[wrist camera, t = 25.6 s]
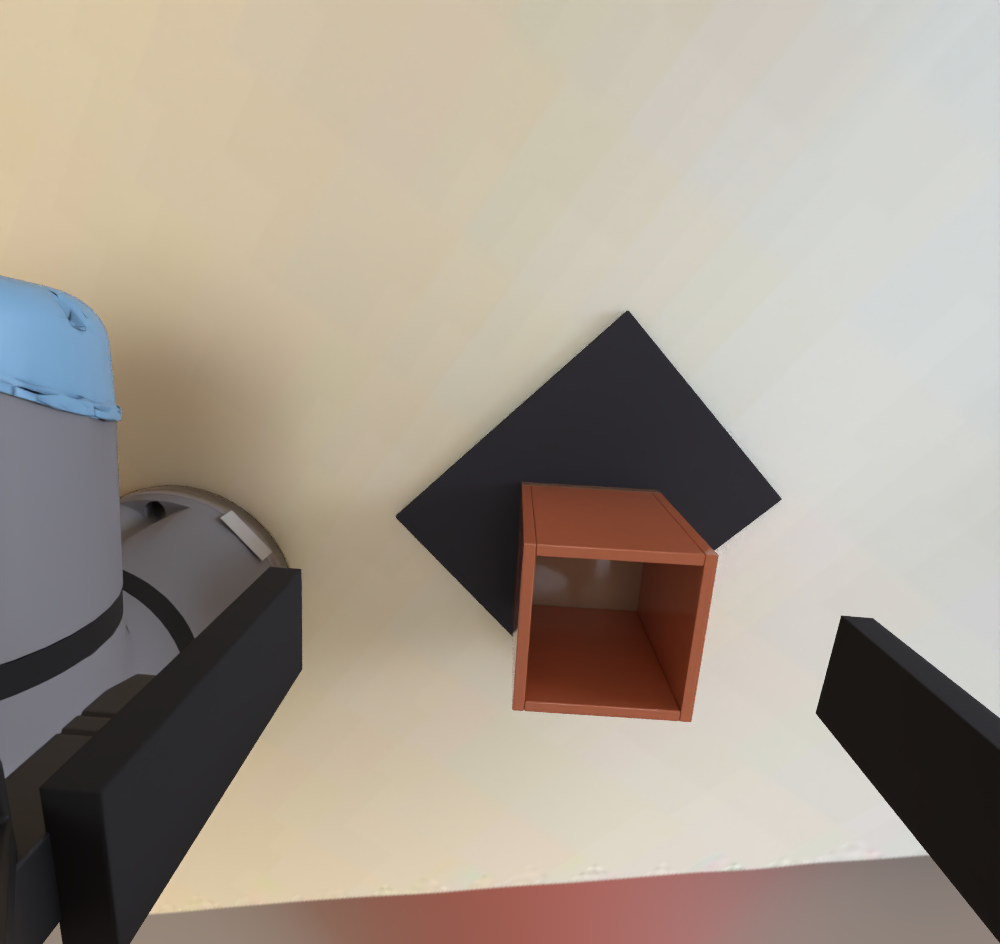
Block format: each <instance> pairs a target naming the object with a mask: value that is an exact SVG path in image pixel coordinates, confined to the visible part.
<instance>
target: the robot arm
mask: <svg viewBox="0 0 1000 944" xmlns="http://www.w3.org/2000/svg"><path fill="white" fill-rule="evenodd" d="M121 415H122V409H121V408H120V407H119V406H118V405H117V404H116V403H115V393H114V384H113V374H112V364H111V355H110V345H109V339H108V335H107V331H106V329H105V327H104V325H103V323H102V321H101V320H100V318H99V317H98V316H97V314H96V313H95V312H94V311H93V310H92V309H91V308H90V307H89V306H88V305H86V304H85V303H84V302H82V301H81V300H79V299H78V298H76V297H74V296H72V295H70V294H68V293H66V292H63V291H60V290H57V289H54V288H51V287H47V286H43V285H39V284H34V283H30V282H26V281H22V280H18V279H13V278H9V277H5V276H0V944H43V942H44V941H45V940H46V939H47V937H48V936H49V935H50V933H51V932H52V931H53V929H54V928H55V927H56V926H57V924H58V923H59V922H60V929H61V935H62V941H63V944H130V942H131V941H132V939H133V938H134V936H135V935H136V933H137V931H138V930H139V928H140V927H141V925H142V923H143V922H144V920H145V919H146V917H147V915H148V914H149V912H150V911H151V909H152V907H153V906H154V904H155V903H156V901H157V899H158V898H159V896H160V895H161V893H162V892H163V890H164V888H165V887H166V885H167V884H168V882H169V880H170V879H171V877H172V876H173V874H174V872H175V871H176V869H177V868H178V866H179V864H180V863H181V861H182V860H183V858H184V856H185V855H186V853H187V852H188V850H189V849H190V847H191V845H192V844H193V842H194V841H195V839H196V837H197V836H198V834H199V833H200V831H201V829H202V828H203V826H204V825H205V823H206V821H207V820H208V818H209V817H210V815H211V813H212V812H213V810H214V809H215V807H216V806H217V804H218V802H219V801H220V799H221V798H222V796H223V794H224V793H225V791H226V790H227V788H228V786H229V785H230V783H231V782H232V780H233V778H234V777H235V775H236V774H237V772H238V770H239V769H240V767H241V766H242V764H243V763H244V761H245V759H246V758H247V756H248V755H249V753H250V751H251V750H252V748H253V747H254V745H255V743H256V742H257V740H258V739H259V737H260V735H261V734H262V732H263V731H264V729H265V727H266V726H267V724H268V723H269V721H270V720H271V718H272V716H273V715H274V713H275V712H276V710H277V708H278V707H279V705H280V704H281V702H282V700H283V699H284V697H285V696H286V694H287V692H288V691H289V689H290V688H291V686H292V684H293V683H294V681H295V680H296V678H297V677H298V675H299V673H300V672H301V670H302V581H301V569H292V568H288V567H287V564H286V562H285V559H284V557H283V555H282V553H281V551H280V550H279V548H278V546H277V545H276V543H275V542H274V540H273V539H272V537H271V536H270V535H269V533H268V532H267V531H266V530H265V529H264V528H263V527H262V526H261V525H260V523H259V522H258V521H256V520H255V519H254V518H253V517H252V516H251V515H250V514H248V513H247V512H246V511H244V510H243V509H242V508H240V507H239V506H237V505H235V504H234V503H232V502H230V501H228V500H226V499H224V498H222V497H220V496H218V495H215V494H213V493H210V492H207V491H204V490H200V489H196V488H191V487H184V486H155V487H150V488H145V489H141V490H138V491H135V492H132V493H130V494H127V495H125V496H123V497H120V498H119V474H118V450H117V421H121V420H120V419H121ZM816 714H817V715H818V717H819V718H820V719H821V720H822V722H823V723H824V724H825V725H826V727H827V728H828V729H829V730H830V732H831V733H832V734H833V735H834V737H835V738H836V739H837V740H838V742H839V743H840V744H841V745H842V747H843V748H844V749H845V750H846V752H847V753H848V754H849V755H850V757H851V758H852V759H853V760H854V762H855V763H856V764H857V765H858V767H859V768H860V769H861V770H862V772H863V773H864V774H865V775H866V777H867V778H868V779H869V780H870V782H871V783H872V784H873V785H874V787H875V788H876V789H877V790H878V792H879V793H880V794H881V795H882V797H883V798H884V799H885V800H886V802H887V803H888V804H889V805H890V807H891V808H892V809H893V810H894V812H895V813H896V814H897V815H898V816H899V818H900V819H901V820H902V821H903V823H904V824H905V825H906V826H907V828H908V829H909V830H910V831H911V833H912V834H913V835H914V836H915V838H916V839H917V840H918V841H919V843H920V844H921V845H922V846H923V848H924V849H925V850H926V851H927V853H928V854H929V855H930V856H931V858H932V859H933V860H934V861H935V863H936V864H937V865H938V866H939V868H940V869H941V870H942V871H943V873H944V874H945V875H946V876H947V877H948V879H949V880H950V881H951V883H952V884H953V885H954V886H955V887H956V889H957V890H958V891H959V892H960V894H961V895H962V896H963V898H964V899H965V900H966V901H967V902H968V904H969V905H970V906H971V908H972V909H973V910H974V911H975V913H976V914H977V915H978V916H979V917H980V919H981V920H982V921H983V922H984V924H985V925H986V926H987V927H988V929H989V930H990V931H991V932H992V933H993V935H994V936H995V937H996V939H997V940H998V941H999V942H1000V718H999V717H998V716H996V715H995V714H994V713H993V712H991V711H990V710H989V709H987V708H986V707H985V706H984V705H982V704H981V703H980V702H979V701H977V700H976V699H975V698H973V697H972V696H971V695H970V694H968V693H967V692H966V691H965V690H963V689H962V688H961V687H959V686H958V685H957V684H956V683H954V682H953V681H952V680H951V679H949V678H948V677H947V676H946V675H944V674H943V673H942V672H940V671H939V670H938V669H937V668H935V667H934V666H933V665H932V664H930V663H929V662H928V661H926V660H925V659H924V658H923V657H921V656H920V655H919V654H918V653H916V652H915V651H914V650H912V649H911V648H910V647H909V646H907V645H906V644H905V643H904V642H902V641H901V640H900V639H898V638H897V637H896V636H895V635H893V634H892V633H891V632H890V631H888V630H887V629H886V628H884V627H883V626H882V625H881V624H879V623H878V622H877V621H876V620H874V619H873V618H863V617H851V616H841V619H840V623H839V627H838V630H837V634H836V638H835V642H834V646H833V649H832V653H831V657H830V661H829V665H828V668H827V672H826V676H825V680H824V684H823V687H822V691H821V695H820V699H819V703H818V706H817V710H816Z"/></svg>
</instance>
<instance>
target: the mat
mask: <svg viewBox="0 0 1000 944" xmlns="http://www.w3.org/2000/svg"><path fill="white" fill-rule="evenodd" d="M522 482H533V483H550V484H567V485H584V486H600V487H617V488H634V489H651V490H658V491H659V492H660V493H661V494H662V495H663V496H664V497H665V498H666V499H667V500H668V501H669V502H670V503H671V504H672V506H673V507H674V508H675V509H676V510H677V511H678V512H679V513H680V514H681V515H682V516H683V517H684V519H685V520H686V521H687V522H688V523H689V524H690V525H691V526H692V527H693V528H694V529H695V531H696V532H697V533H698V534H699V535H700V536H701V537H702V538H703V539H704V540H705V541H706V542H707V544H708V545H709V546H710V547H711V548H712V549H713V550H716V549H717V548H718V547H720V546H721V545H722V544H723V543H725V542H726V541H727V540H729V539H730V538H731V537H733V536H734V535H735V534H737V533H738V532H739V531H741V530H742V529H743V528H745V527H746V526H747V525H749V524H750V523H751V522H753V521H754V520H755V519H757V518H758V517H759V516H761V515H762V514H763V513H764V512H766V511H767V510H768V509H770V508H771V507H772V506H774V505H775V504H776V503H778V502H779V501H780V500H782V499H781V498H780V496H779V495H778V494H777V493H776V491H775V490H774V489H773V488H772V487H771V485H770V484H769V483H768V482H767V480H766V479H765V478H764V477H763V475H762V474H761V473H760V472H759V471H758V469H757V468H756V467H755V466H754V464H753V463H752V462H751V461H750V459H749V458H748V457H747V456H746V455H745V453H744V452H743V451H742V450H741V448H740V447H739V446H738V445H737V443H736V442H735V441H734V440H733V439H732V437H731V436H730V435H729V434H728V432H727V431H726V430H725V429H724V427H723V426H722V425H721V424H720V423H719V421H718V420H717V419H716V418H715V416H714V415H713V414H712V413H711V411H710V410H709V409H708V408H707V407H706V405H705V404H704V403H703V402H702V400H701V399H700V398H699V397H698V396H697V394H696V393H695V392H694V391H693V389H692V388H691V387H690V386H689V384H688V383H687V382H686V381H685V380H684V378H683V377H682V376H681V375H680V373H679V372H678V371H677V370H676V368H675V367H674V366H673V365H672V364H671V362H670V361H669V360H668V359H667V357H666V356H665V355H664V354H663V352H662V351H661V350H660V349H659V348H658V346H657V345H656V344H655V343H654V341H653V340H652V339H651V338H650V336H649V335H648V334H647V333H646V332H645V330H644V329H643V328H642V327H641V325H640V324H639V323H638V322H637V320H636V319H635V318H634V317H633V316H632V314H631V313H630V312H629V311H626V312H625V313H624V314H623V315H622V316H621V317H620V318H618V319H617V320H616V321H615V322H614V323H613V324H612V325H611V326H609V327H608V328H607V329H606V330H605V331H604V332H603V333H601V334H600V335H599V336H598V337H597V338H596V339H595V340H594V341H592V342H591V343H590V344H589V345H588V346H587V347H586V348H585V349H583V350H582V351H581V352H580V353H579V354H578V355H577V356H576V357H574V358H573V359H572V360H571V361H570V362H569V363H568V364H567V365H565V366H564V367H563V368H562V369H561V370H560V371H559V372H558V373H556V374H555V375H554V376H553V377H552V378H551V379H550V380H548V381H547V382H546V383H545V384H544V385H543V386H542V387H541V388H539V389H538V390H537V391H536V392H535V393H534V394H533V395H532V396H530V397H529V398H528V399H527V400H526V401H525V402H524V403H523V404H521V405H520V406H519V407H518V408H517V409H516V410H515V411H514V412H512V413H511V414H510V415H509V416H508V417H507V418H506V419H505V420H503V421H502V422H501V423H500V424H499V425H498V426H497V427H495V428H494V429H493V430H492V431H491V432H490V433H489V434H488V435H486V436H485V437H484V438H483V439H482V440H481V441H480V442H479V443H477V444H476V445H475V446H474V447H473V448H472V449H471V450H470V451H468V452H467V453H466V454H465V455H464V456H463V457H462V458H461V459H459V460H458V461H457V462H456V463H455V464H454V465H453V466H452V467H450V468H449V469H448V470H447V471H446V472H445V473H444V474H443V475H441V476H440V477H439V478H438V479H437V480H436V481H435V482H433V483H432V484H431V485H430V486H429V487H428V488H427V489H426V490H424V491H423V492H422V493H421V494H420V495H419V496H418V497H417V498H415V499H414V500H413V501H412V502H411V503H410V504H409V505H408V506H406V507H405V508H404V509H403V510H402V511H401V512H400V513H399V514H397V515H396V518H397V519H398V520H399V521H400V522H401V523H402V524H403V525H404V526H405V527H406V528H407V529H408V530H409V531H410V532H411V533H412V534H413V535H414V537H415V538H416V539H417V540H418V541H419V542H420V543H421V544H422V545H423V546H424V547H425V548H426V549H427V550H428V551H429V552H430V553H431V554H432V555H433V556H434V557H435V558H436V559H437V560H438V561H439V562H440V563H441V564H442V565H443V566H444V567H445V568H446V569H447V570H448V571H449V572H450V573H451V574H452V575H453V576H454V577H455V578H456V579H457V580H458V581H459V582H460V583H461V584H462V585H463V586H464V587H465V588H466V589H467V590H468V592H469V593H470V594H471V595H472V596H473V597H474V598H475V599H476V600H477V601H478V602H479V603H480V604H481V605H482V606H483V607H484V608H485V609H486V610H487V611H488V612H489V613H490V614H491V615H492V616H493V617H494V618H495V619H496V620H497V621H498V622H499V623H500V624H501V625H502V626H503V627H504V628H505V629H506V630H507V631H508V632H509V633H510V634H511V635H512V636H513V601H514V586H515V570H516V555H517V540H518V525H519V510H520V495H521V483H522Z"/></svg>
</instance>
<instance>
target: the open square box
mask: <svg viewBox="0 0 1000 944" xmlns="http://www.w3.org/2000/svg"><path fill="white" fill-rule="evenodd" d="M717 561H718V554H717V553H716V552H715V551H714V550H713V549H712V548H711V547H710V546H709V545H708V544H707V542H706V541H705V540H704V539H703V538H702V537H701V536H700V535H699V534H698V533H697V532H696V531H695V529H694V528H693V527H692V526H691V525H690V524H689V523H688V522H687V521H686V520H685V519H684V517H683V516H682V515H681V514H680V513H679V512H678V511H677V510H676V509H675V508H674V507H673V506H672V504H671V503H670V502H669V501H668V500H667V499H666V498H665V497H664V496H663V495H662V494H661V493H660V492H659V491H658V490H651V489H634V488H617V487H600V486H584V485H567V484H550V483H533V482H522V483H521V495H520V510H519V525H518V540H517V555H516V570H515V586H514V601H513V681H512V709H513V710H518V711H523V710H525V711H534V712H549V713H564V714H579V715H595V716H610V717H625V718H641V719H656V720H671V721H683V722H691V720H692V714H693V708H694V702H695V696H696V690H697V683H698V677H699V671H700V665H701V659H702V653H703V647H704V641H705V635H706V629H707V622H708V616H709V610H710V604H711V598H712V592H713V586H714V580H715V574H716V568H717Z"/></svg>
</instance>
